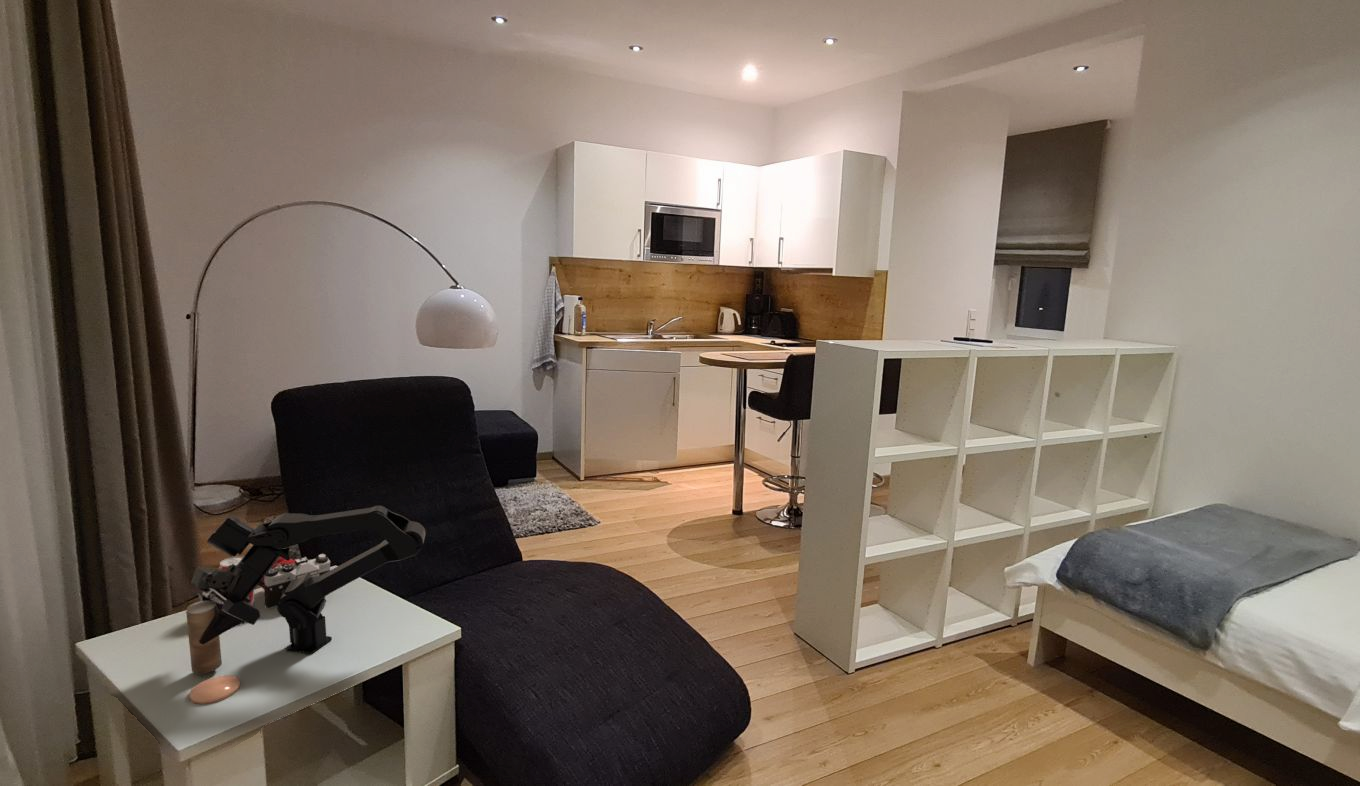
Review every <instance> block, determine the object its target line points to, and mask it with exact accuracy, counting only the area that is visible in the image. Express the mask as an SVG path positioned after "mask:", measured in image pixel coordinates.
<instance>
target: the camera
mask: <svg viewBox="0 0 1360 786" xmlns="http://www.w3.org/2000/svg"><path fill="white" fill-rule="evenodd" d="M294 561H295V564H286V565H284V564H281V565H280V564H279V565H278V566H275V567H274V568H271V569H270V570H269V572H268V573H267V574H266V575H264V576H265V577H264V582H265V583H264V589H263V591H264V606H265V608H266V609H268V610H269V609H274V608H277V604H278V601H279V600H280V598H281V597H282V595H283V594H284V592H285V590H286V589H287V587H288V586H289V584H290V583H291V581H292V580H294V579H298V578H300V577H302V576H303V575H305V574H306V573H308V572H310V574H311V576H312V577H315V576H320V575H323V574H325V573H327V572H328V571H330V570H331V560H330V559H329V557H328V556H327V555H326V554H324V553H321V554H318V556H317V557H316V558H313V559H308V558H307V557H306V556H304V557H302V558H298V559H296V558H295V559H294ZM324 599H326V596H325V597H324Z"/></svg>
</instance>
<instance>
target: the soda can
mask: <svg viewBox="0 0 1360 786" xmlns="http://www.w3.org/2000/svg"><path fill="white" fill-rule="evenodd" d="M244 556H245V555H244ZM244 556H243V555H242V556H241V555H239V556H237V555H236V556H235V557H234V556H232V557H231V556H230V557H228V558H225V559H223V560H221V561H220V562H219V567H218V568H217V569H223V570H226V569H227V568H228V567H229V566H230V565H232V564H234V565H237V564H238V563H239V562H240V561H241V559H242V558H243V557H244ZM255 597H256V596H255V589H254V590H253V592H252V593H251V594H250V596H249V597H248V599H250V600H251V601H250V602H249V604H251V605H253V606H254V605H255ZM222 604H223V602H222Z"/></svg>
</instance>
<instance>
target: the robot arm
mask: <svg viewBox="0 0 1360 786" xmlns="http://www.w3.org/2000/svg"><path fill="white" fill-rule="evenodd" d="M368 529H372V530H374V531H375V532H377V533H378V535H380V536H381V538H383V539H384V540H383V541H381V542H380V543H379V544H377V545H375V546H374V547H371V548H370V549H368V550H366V551H364V552H362V553H360V554H358V555H357V556H355V557H353V558H350V559H349V560H348V561H345V562H344V563H342V564H340V565H338V566H336V567H335V568H334V567H333V568H332V569H330V571H328V572H327V573H325V574H323V575H320V576H315V577H312V576H311V574H310V572H308V573H306V574H305V575H303V576H302V577H300V578H298V579H294V580H292V581H291V583H290V584H289V586H288V587H287V589H286V590H285V592H284V594H283V595H282V597H281V598H280V600H279V601H278V604H277V607H276V609H277V612H278V614H279V615H280V616H281V617H282V618H284V620H285V621H286V622H287V625H288V629H289V641H290V644H289V645H288V646H286V647H285V649H286V651H291V652H298V653H303V654H314V653H315V652H317V651H318V650H319V649H321V648H322V647H323V646H325V645H326V644H328V643H329V642H330V641H332V639H333V637H332V636H329V635H327V624H326V616H325V615H323V614H322V611H323V609H324V608H325V605H326V603H327V599H326V597H327V596H328V595H330V594H331V593H333V592H335V591H337V590H339V589H341V588H343V587H345V586H347V585H348V584H350V583H352V582H354V581H355V580H357V579H359V578H362V577H363V576H365V575H367V574H369V573H371V572H372V571H374V570H376V569H378V568H380V567H381V566H384V565H385V564H387V563H392V562H398V561H402V560H405V559H408V558H411V557H413V556H416V555H418V554H419V553H420V552H421V550H422V549H423V545H424V542H425V538H426V528H425V527H424V526H423V525H422V524H421V523H420V522H417V521H413V520H410V519H408V518H406V517H405V516H403V515H401V514H398V513H396V512H394V511H391V510H389V509H388V508H386V506H383V505H374V506H372V507H366V508H359V509H353V510H345V511H337V512H332V513H331V512H330V513H325V514H317V515H313V514H312V515H311V514H310V515H309V514H306V513H295V512H294V513H289V512H287V513H281V514H279V515H277V516H276V517H275V518H274V519H273V520H271V521H267V522H264V523H261V524H258V525H257V526H256V527H255V528H254V527H252V526H250V525H248V524H247V523H245V522H243V521H241V520H240V519H239V518H238V517H236V515H233V514H231V515H229V516H228V517H227V518H226V519H225V521H224V522H223V523H222V524H221V525H220V526H219V527H218V528H217V529H215V530H214V532H213V533H212V534H211V535H210V537H209V538H208V539H207V540H206V543H207V544H208V545H210V546H212V547H213V548H216V549H217V550H220V551H221V552H223V553H224V554H226V555H227V556H229V557H230V558H231V557H237V555H239V556H241V555H242V553H244V551H246V549H247V548H248V547H249V545H250V544H251V545H252V546H251V547H250V548H249V549H248V551H246V553H245V554H244V557H243V558H242V559H241V561H240V562H239V563H238V564H237V565H234V564H232V565H230V566H229V567H228V568H227V569H226V570H223V569H218V568H217V567H207V566H197V567H196V568H195V571H194V574H193V576H192V579H191V584H194V587H195V588H196V589H197V590H199V591H203V592H202V593H201V592H198V594H197V596H198V597H199V602H200V601H215V602H216V605H217V606H215V617H214V618H213V620H212V621H211V623H210V624H209V626H208V627H207V629H206V630H205V632H204V633H203V635H202V636H201V638H200V640H199V643H201V644H205V643H207V642H209V641H210V640H212V639H214V638H215V637H217V636H219V637H220V635H222V634H224V633H225V632H227V631H229V630H231V629H233V628H235V627H237V626H238V625H243V624H245V623H248V624H250V625H252V626H254V625H255V624H256V623H257V621H258V620H259V619H260V618H261V611H260V609H258V608H257V607H255V606H254V604H253V605H251V604H249V602H250V601H251V600H250V599H248V597H249V596H250V594H251V593H252V592H253V590H254V591H255V590H256V588H257V587H258V586H260V587H261V588H262V586H263V584H264V583H265V582H264V581H262V579H263V578H264V577H265V576H264V575H266V574H267V573H268V572H269V570H270V569H271V568H272V567H273V565H274V564H275V563H276V562H277V560H278V559H279V558H281V557H282V558H284V559H285V560H287V561H288V560H290V558H291V556H290V549H291V548H290V547H293V546H296V545H299V544H301V543H304V542H305V541H308V540H310V539H314V538H316V537H323V536H329V535H335V534H336V535H337V534H343V533H350V532H355V531H363V530H368ZM324 597H325V599H324ZM222 602H223V604H222Z"/></svg>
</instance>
